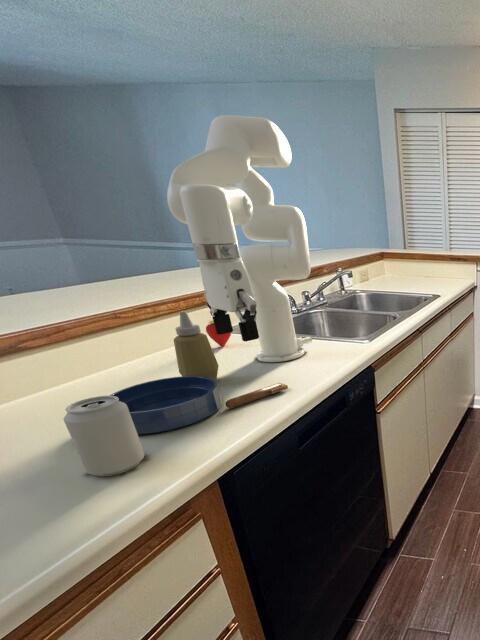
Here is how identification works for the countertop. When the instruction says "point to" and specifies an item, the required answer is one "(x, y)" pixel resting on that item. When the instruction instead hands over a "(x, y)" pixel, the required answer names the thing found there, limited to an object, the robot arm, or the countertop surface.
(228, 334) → the strawberry
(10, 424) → the countertop surface
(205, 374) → the squeeze bottle
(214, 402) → the bowl
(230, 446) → the countertop surface
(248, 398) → the stirring stick
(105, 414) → the can
